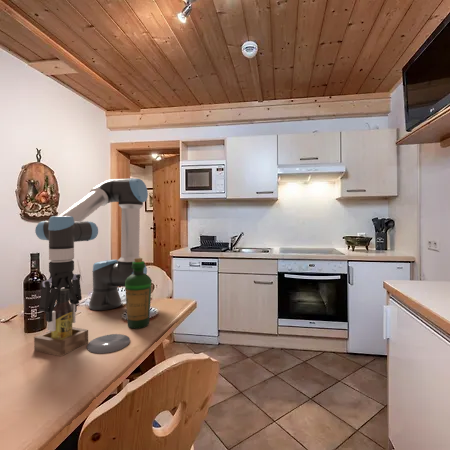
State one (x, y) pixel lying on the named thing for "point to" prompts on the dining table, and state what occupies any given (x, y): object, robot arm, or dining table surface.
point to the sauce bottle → (63, 316)
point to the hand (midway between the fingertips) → (62, 326)
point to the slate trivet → (108, 343)
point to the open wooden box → (60, 342)
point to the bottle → (138, 296)
